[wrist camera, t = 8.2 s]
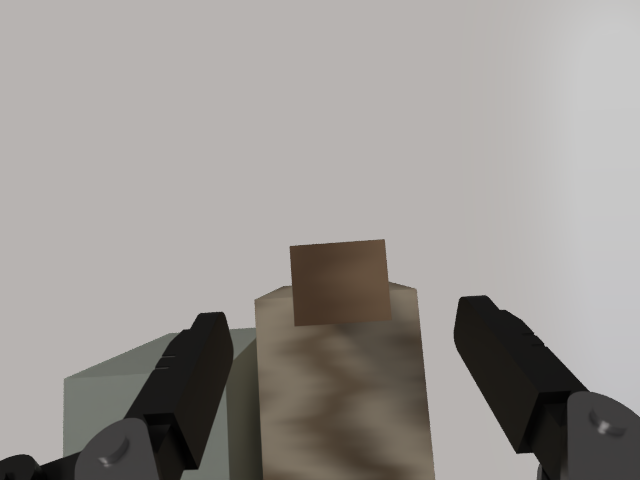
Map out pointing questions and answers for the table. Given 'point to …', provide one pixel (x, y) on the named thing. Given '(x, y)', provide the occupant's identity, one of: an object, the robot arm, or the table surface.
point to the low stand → (128, 379)
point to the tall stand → (343, 394)
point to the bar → (340, 283)
